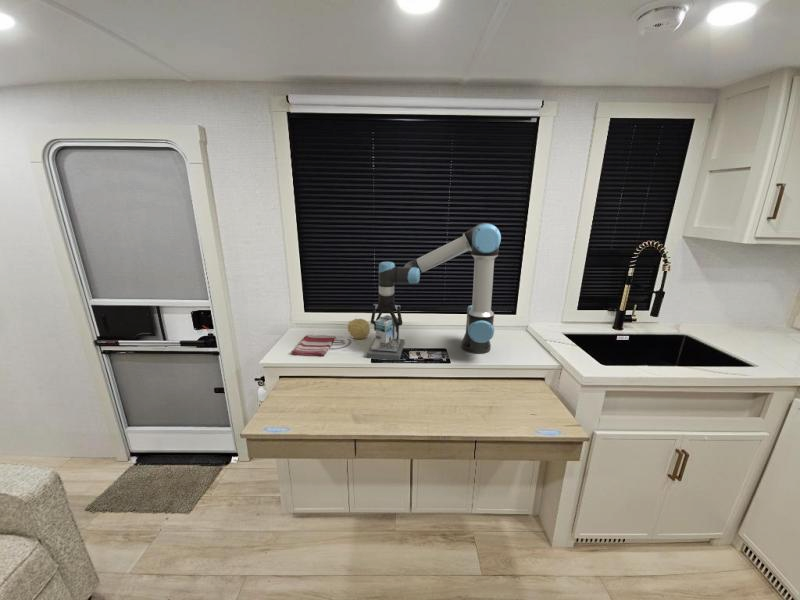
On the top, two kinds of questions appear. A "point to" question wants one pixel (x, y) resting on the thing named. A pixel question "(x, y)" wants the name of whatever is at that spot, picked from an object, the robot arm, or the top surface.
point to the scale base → (386, 354)
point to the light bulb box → (384, 329)
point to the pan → (386, 345)
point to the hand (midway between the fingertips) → (386, 337)
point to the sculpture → (359, 328)
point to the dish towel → (313, 345)
